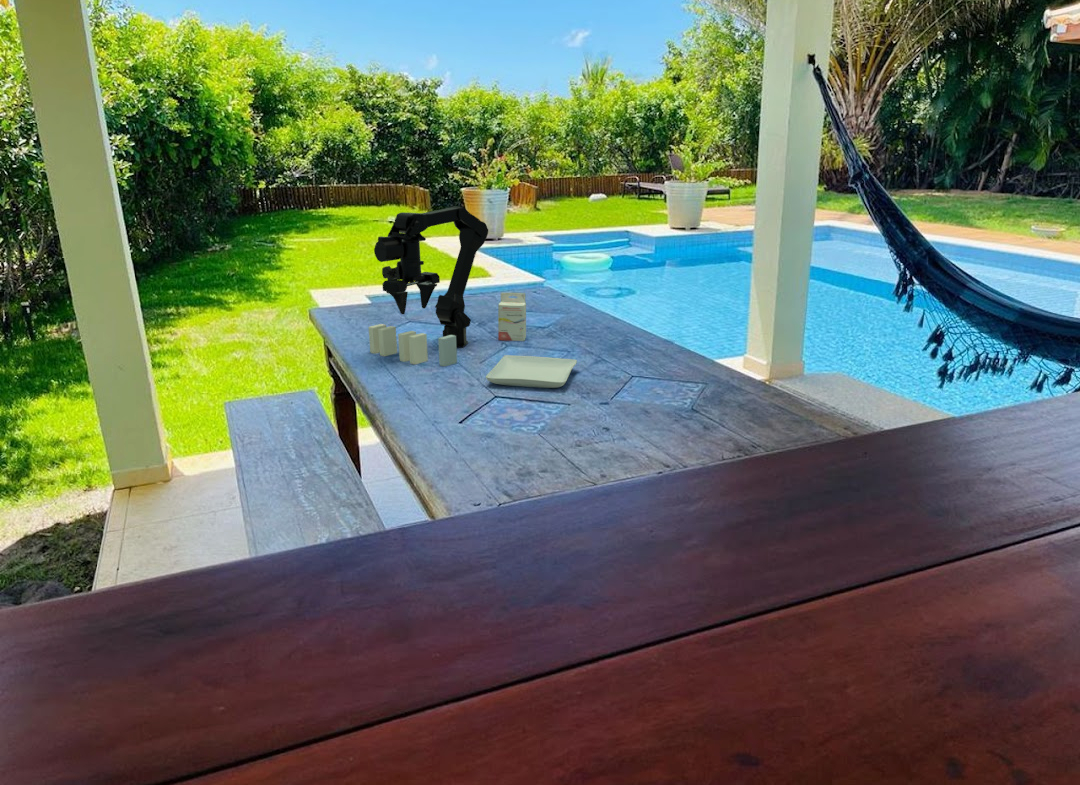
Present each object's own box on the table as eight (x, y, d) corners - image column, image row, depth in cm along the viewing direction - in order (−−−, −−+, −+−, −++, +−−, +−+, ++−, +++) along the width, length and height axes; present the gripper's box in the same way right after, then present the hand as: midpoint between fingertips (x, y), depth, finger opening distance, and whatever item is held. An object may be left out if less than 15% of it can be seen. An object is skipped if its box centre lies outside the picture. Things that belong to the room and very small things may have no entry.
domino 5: (439, 365, 219) (438, 338, 216) (452, 361, 222) (451, 334, 220) (444, 366, 217) (443, 339, 215) (457, 362, 221) (456, 335, 219)
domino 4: (410, 363, 221) (408, 336, 218) (423, 359, 224) (421, 333, 222) (414, 364, 219) (413, 337, 217) (427, 360, 223) (426, 334, 220)
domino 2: (379, 355, 229) (378, 329, 226) (393, 351, 232) (391, 326, 230) (384, 356, 228) (382, 330, 225) (397, 353, 231) (395, 327, 229)
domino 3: (399, 360, 223) (398, 333, 221) (412, 357, 227) (411, 330, 224) (404, 361, 222) (402, 335, 220) (417, 358, 226) (415, 331, 223)
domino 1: (370, 352, 232) (368, 326, 229) (383, 349, 235) (381, 323, 233) (374, 353, 230) (372, 327, 228) (387, 350, 234) (385, 324, 231)
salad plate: (565, 393, 195) (565, 381, 194) (484, 388, 199) (484, 376, 198) (578, 370, 215) (578, 358, 214) (504, 366, 219) (504, 354, 218)
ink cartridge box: (498, 340, 245) (497, 295, 240) (500, 337, 250) (499, 292, 245) (524, 341, 244) (524, 295, 239) (526, 337, 249) (526, 292, 244)
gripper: (411, 251, 232) (414, 302, 237) (366, 259, 217) (370, 314, 222) (439, 254, 226) (442, 306, 231) (395, 263, 211) (399, 318, 216)
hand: (413, 311), depth 225 cm, fingers open, 9 cm apart
